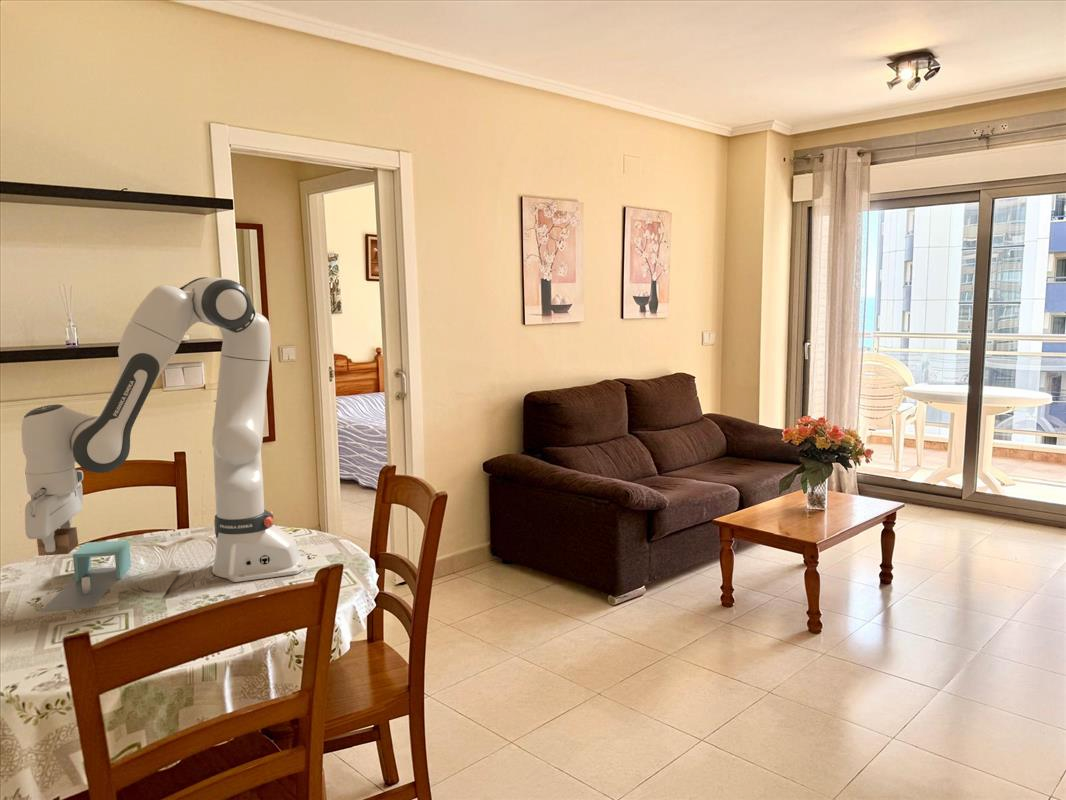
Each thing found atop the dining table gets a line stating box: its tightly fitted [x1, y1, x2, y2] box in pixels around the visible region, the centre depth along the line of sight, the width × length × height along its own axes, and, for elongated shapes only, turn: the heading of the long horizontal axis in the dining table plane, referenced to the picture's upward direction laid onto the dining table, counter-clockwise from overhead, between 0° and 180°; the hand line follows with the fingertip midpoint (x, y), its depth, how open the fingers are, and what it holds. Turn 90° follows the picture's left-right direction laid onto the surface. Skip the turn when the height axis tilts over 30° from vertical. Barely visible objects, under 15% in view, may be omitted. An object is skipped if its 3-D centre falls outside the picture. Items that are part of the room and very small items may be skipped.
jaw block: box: [36, 526, 79, 557], centre depth 160 cm, size 6×6×4 cm
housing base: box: [41, 566, 118, 612], centre depth 171 cm, size 10×24×4 cm, turn 12°
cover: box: [72, 539, 132, 581], centre depth 178 cm, size 10×8×6 cm
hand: (58, 545), depth 160 cm, fingers closed on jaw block, 6 cm apart
